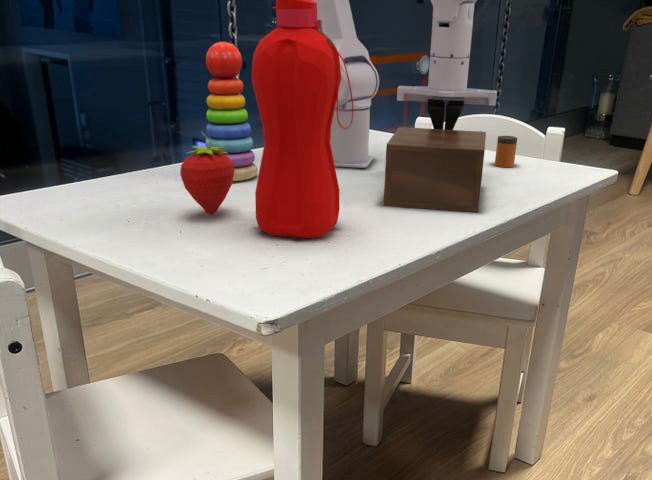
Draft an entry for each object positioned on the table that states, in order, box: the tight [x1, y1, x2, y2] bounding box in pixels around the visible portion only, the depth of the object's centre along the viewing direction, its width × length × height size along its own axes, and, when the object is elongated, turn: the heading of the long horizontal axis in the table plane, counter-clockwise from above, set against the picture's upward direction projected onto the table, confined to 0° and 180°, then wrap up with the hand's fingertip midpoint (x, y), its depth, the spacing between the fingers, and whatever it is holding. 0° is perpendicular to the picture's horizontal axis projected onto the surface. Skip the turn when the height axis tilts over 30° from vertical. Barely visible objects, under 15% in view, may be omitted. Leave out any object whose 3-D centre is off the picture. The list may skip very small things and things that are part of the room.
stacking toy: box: [205, 41, 258, 182], centre depth 105 cm, size 8×8×19 cm
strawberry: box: [179, 131, 235, 216], centre depth 89 cm, size 6×8×10 cm
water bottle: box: [251, 0, 353, 239], centre depth 81 cm, size 9×11×25 cm
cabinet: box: [383, 126, 487, 213], centre depth 100 cm, size 14×13×8 cm
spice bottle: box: [494, 135, 518, 168], centre depth 121 cm, size 3×3×5 cm
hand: (441, 152), depth 111 cm, fingers closed
